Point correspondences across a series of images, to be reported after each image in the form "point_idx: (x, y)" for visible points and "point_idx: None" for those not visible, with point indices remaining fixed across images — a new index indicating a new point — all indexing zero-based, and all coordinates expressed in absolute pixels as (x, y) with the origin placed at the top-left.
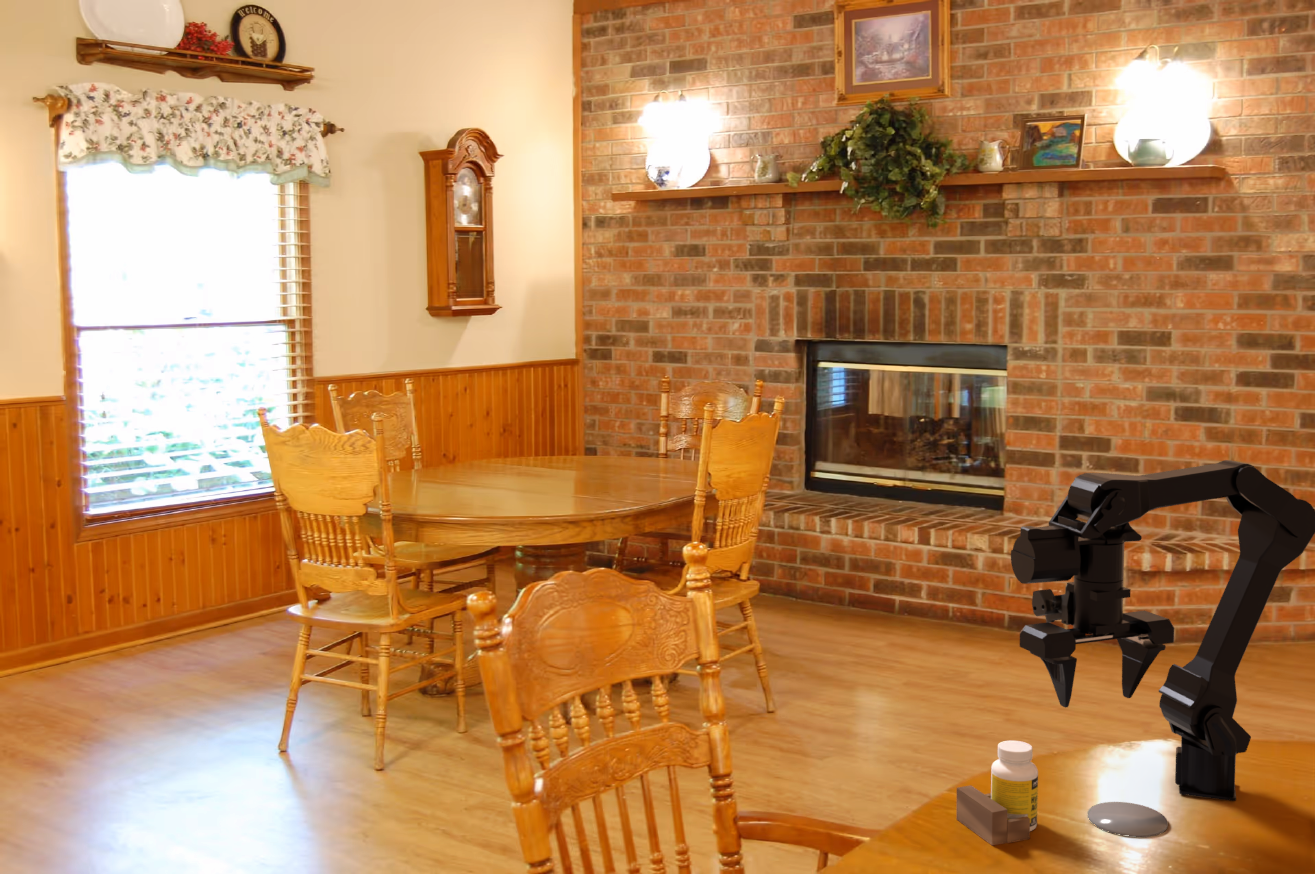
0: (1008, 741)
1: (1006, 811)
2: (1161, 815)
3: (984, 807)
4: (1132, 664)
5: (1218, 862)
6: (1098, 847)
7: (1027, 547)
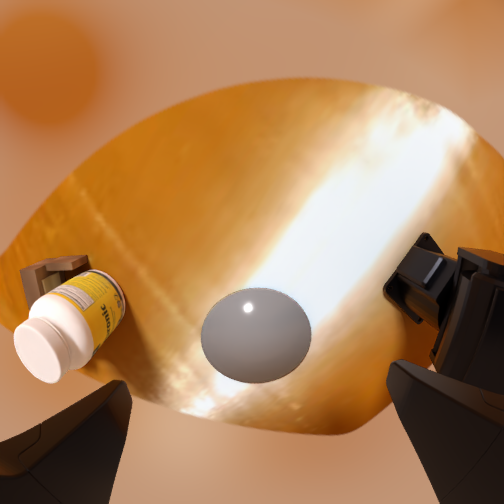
0: (28, 332)
1: None
2: (305, 347)
3: None
4: (452, 463)
5: (280, 430)
6: (175, 382)
7: None
